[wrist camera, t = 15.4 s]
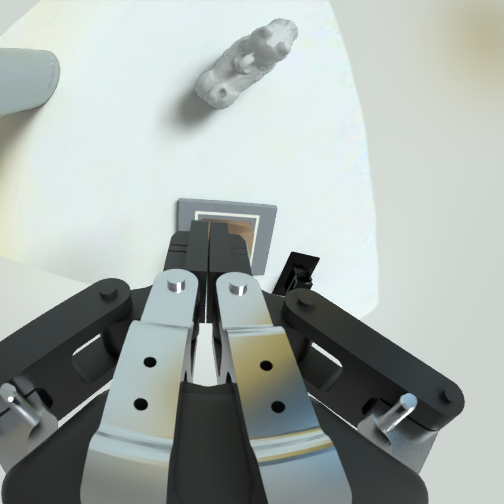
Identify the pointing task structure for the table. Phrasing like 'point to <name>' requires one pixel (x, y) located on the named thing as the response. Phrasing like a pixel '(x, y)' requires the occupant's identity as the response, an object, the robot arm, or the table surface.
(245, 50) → the dog figurine
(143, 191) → the table surface
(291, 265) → the black stepped block
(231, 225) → the walnut block
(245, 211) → the board
